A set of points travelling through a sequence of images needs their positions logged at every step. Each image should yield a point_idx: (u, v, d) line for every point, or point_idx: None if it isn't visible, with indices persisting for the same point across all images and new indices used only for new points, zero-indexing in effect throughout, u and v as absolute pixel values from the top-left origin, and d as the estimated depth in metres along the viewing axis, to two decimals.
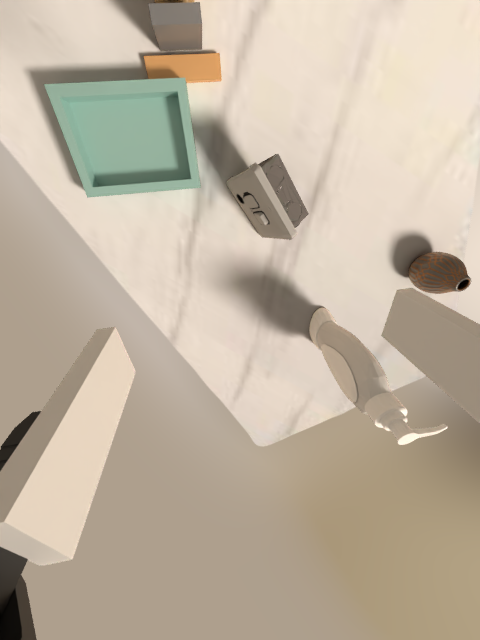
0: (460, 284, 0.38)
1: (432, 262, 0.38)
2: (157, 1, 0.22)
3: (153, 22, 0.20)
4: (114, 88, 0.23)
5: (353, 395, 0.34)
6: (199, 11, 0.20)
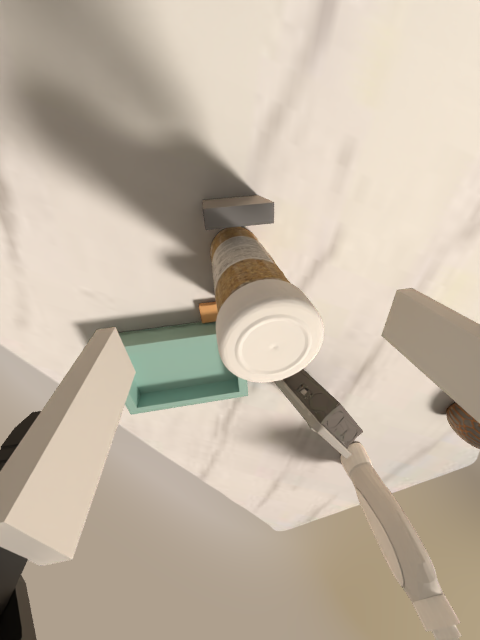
0: None
1: (475, 422, 0.37)
2: None
3: None
4: (168, 345, 0.22)
5: (397, 579, 0.33)
6: None
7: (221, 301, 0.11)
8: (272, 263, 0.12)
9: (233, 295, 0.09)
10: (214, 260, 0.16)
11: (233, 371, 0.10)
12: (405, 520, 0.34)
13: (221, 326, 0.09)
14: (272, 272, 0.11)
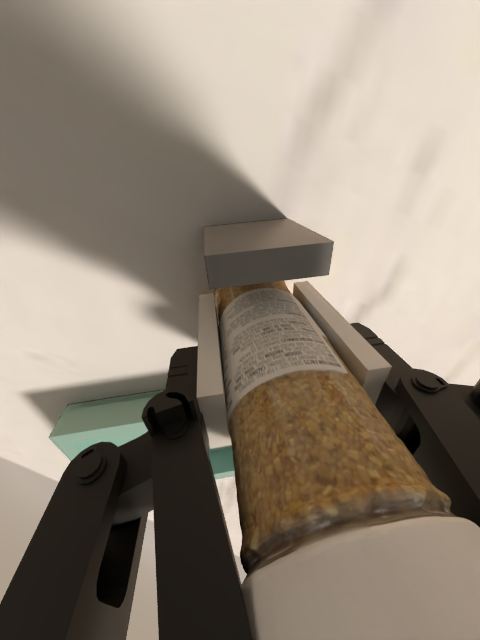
0: None
1: None
2: None
3: None
4: None
5: None
6: None
7: (249, 507, 0.04)
8: (347, 376, 0.06)
9: (300, 585, 0.03)
10: (223, 332, 0.09)
11: None
12: None
13: None
14: (373, 436, 0.04)
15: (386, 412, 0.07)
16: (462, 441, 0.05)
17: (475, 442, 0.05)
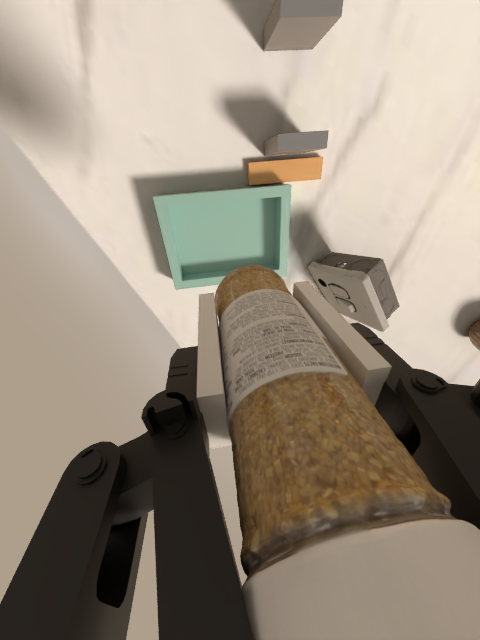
0: None
1: None
2: None
3: (279, 149, 0.20)
4: (220, 197, 0.23)
5: None
6: (326, 138, 0.20)
7: (250, 509, 0.04)
8: (347, 378, 0.06)
9: (300, 588, 0.03)
10: (223, 333, 0.09)
11: None
12: None
13: None
14: (373, 438, 0.04)
15: (386, 412, 0.07)
16: (462, 441, 0.05)
17: (475, 442, 0.05)
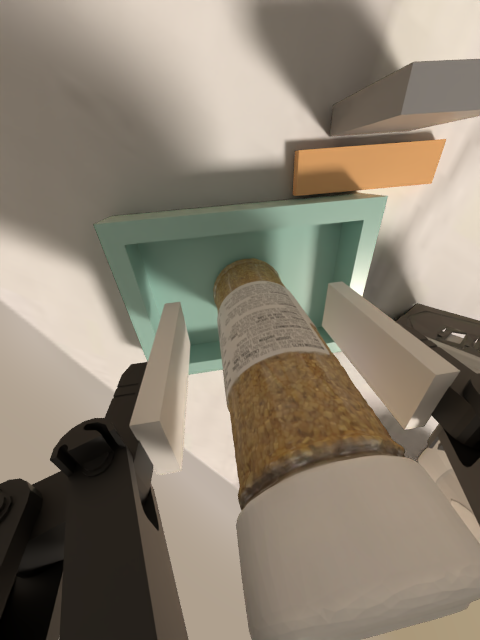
0: None
1: None
2: None
3: (407, 108, 0.07)
4: (241, 222, 0.11)
5: None
6: None
7: (245, 459, 0.06)
8: (329, 356, 0.07)
9: (282, 502, 0.04)
10: (222, 321, 0.10)
11: None
12: None
13: (259, 603, 0.04)
14: (345, 401, 0.06)
15: (448, 415, 0.07)
16: None
17: None
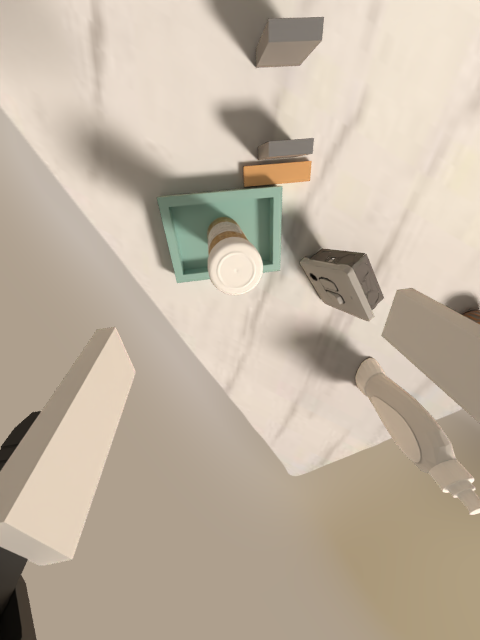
0: None
1: None
2: None
3: (270, 155, 0.22)
4: (218, 197, 0.25)
5: (414, 457, 0.36)
6: (312, 144, 0.22)
7: (210, 252, 0.20)
8: (241, 234, 0.21)
9: (216, 245, 0.18)
10: (208, 236, 0.25)
11: (216, 285, 0.19)
12: (420, 404, 0.36)
13: (209, 259, 0.18)
14: (238, 236, 0.20)
15: None
16: None
17: None
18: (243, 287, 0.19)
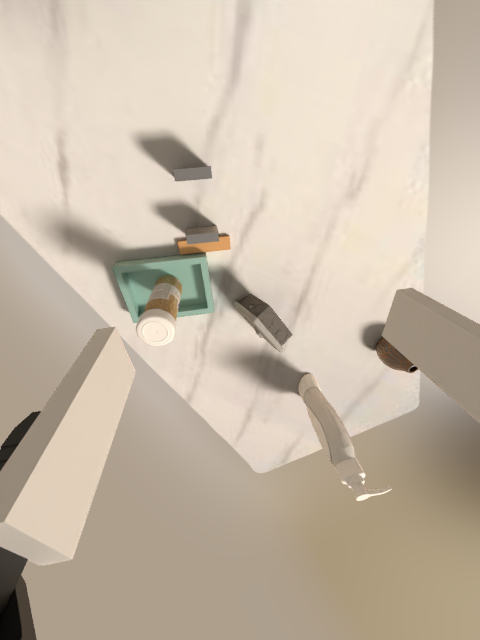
0: None
1: (391, 348, 0.49)
2: None
3: (188, 243, 0.31)
4: (158, 265, 0.34)
5: (328, 456, 0.45)
6: (217, 236, 0.31)
7: None
8: (167, 299, 0.31)
9: (142, 314, 0.28)
10: None
11: (143, 341, 0.28)
12: (334, 414, 0.46)
13: None
14: (161, 305, 0.29)
15: None
16: None
17: None
18: (162, 341, 0.28)
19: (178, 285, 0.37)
